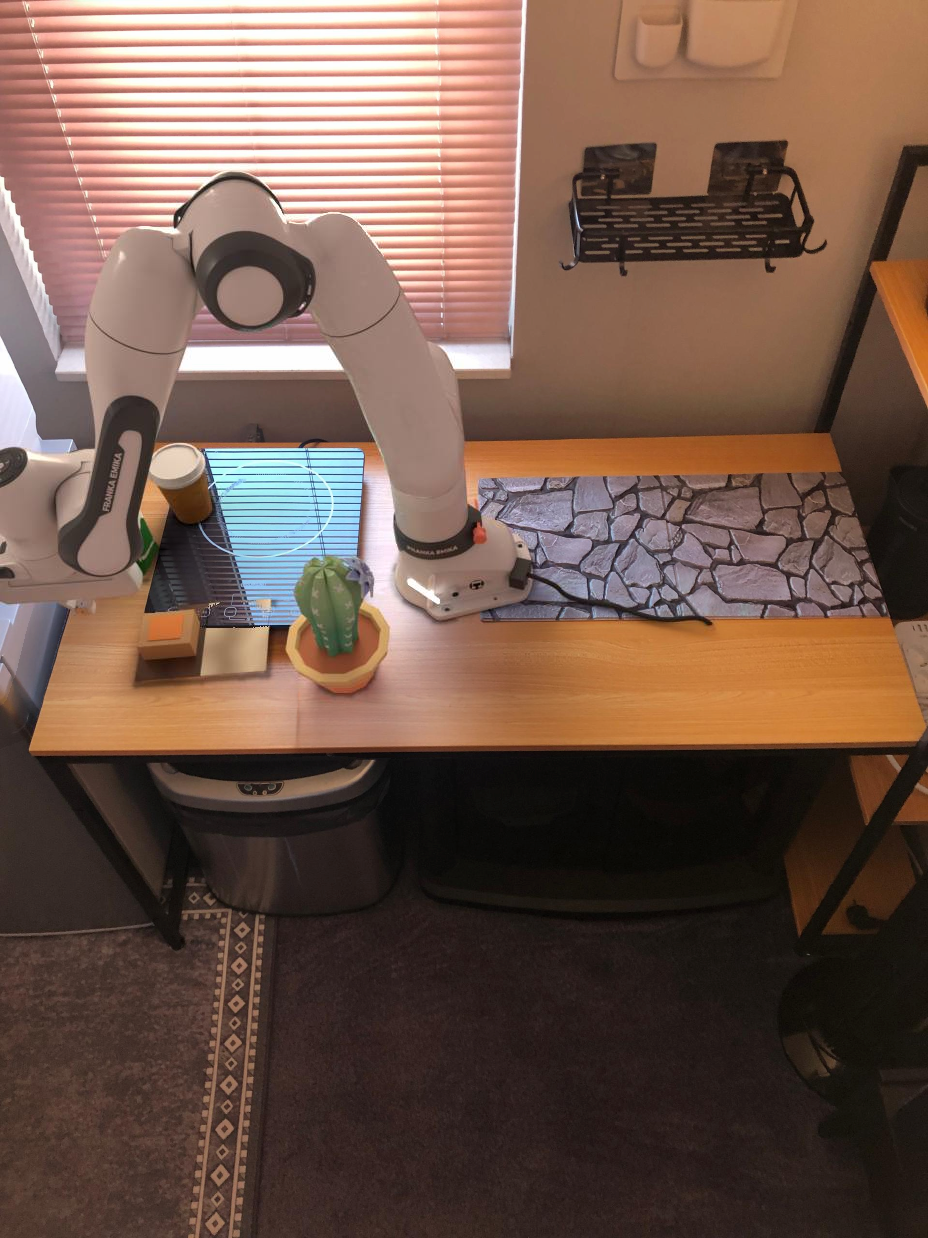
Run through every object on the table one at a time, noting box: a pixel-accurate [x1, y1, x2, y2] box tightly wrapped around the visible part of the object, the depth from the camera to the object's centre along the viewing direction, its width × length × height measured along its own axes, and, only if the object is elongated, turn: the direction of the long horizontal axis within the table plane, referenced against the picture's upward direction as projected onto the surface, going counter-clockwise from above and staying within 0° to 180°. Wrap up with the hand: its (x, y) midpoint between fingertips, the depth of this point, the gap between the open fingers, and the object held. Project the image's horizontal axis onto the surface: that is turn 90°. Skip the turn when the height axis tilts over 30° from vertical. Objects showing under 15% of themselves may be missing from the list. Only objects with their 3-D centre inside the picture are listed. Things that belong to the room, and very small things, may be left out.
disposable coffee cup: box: [148, 442, 213, 525], centre depth 161 cm, size 10×10×12 cm
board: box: [134, 597, 272, 682], centre depth 148 cm, size 20×14×1 cm
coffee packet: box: [136, 609, 200, 660], centre depth 146 cm, size 8×6×4 cm
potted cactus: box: [285, 554, 391, 694], centre depth 134 cm, size 15×15×25 cm
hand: (85, 611), depth 140 cm, fingers closed
